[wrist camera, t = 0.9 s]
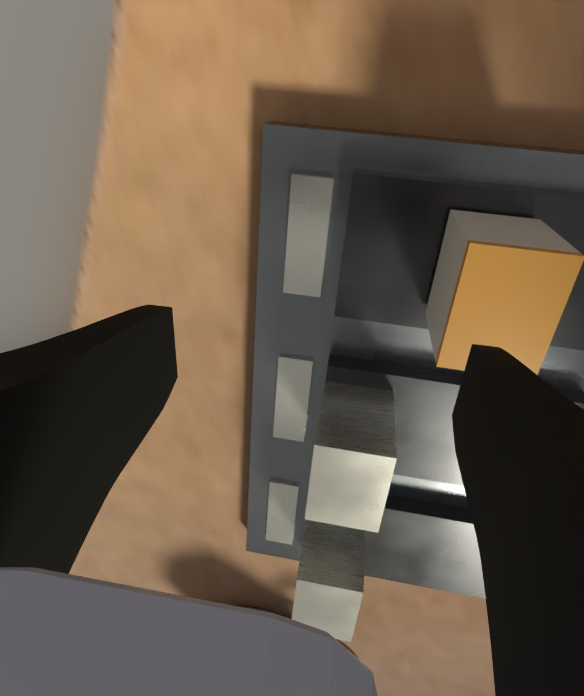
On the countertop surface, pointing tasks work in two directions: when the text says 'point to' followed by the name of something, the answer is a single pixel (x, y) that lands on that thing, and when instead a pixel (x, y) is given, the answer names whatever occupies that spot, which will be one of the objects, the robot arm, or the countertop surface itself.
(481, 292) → the block
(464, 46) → the countertop surface
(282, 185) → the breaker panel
